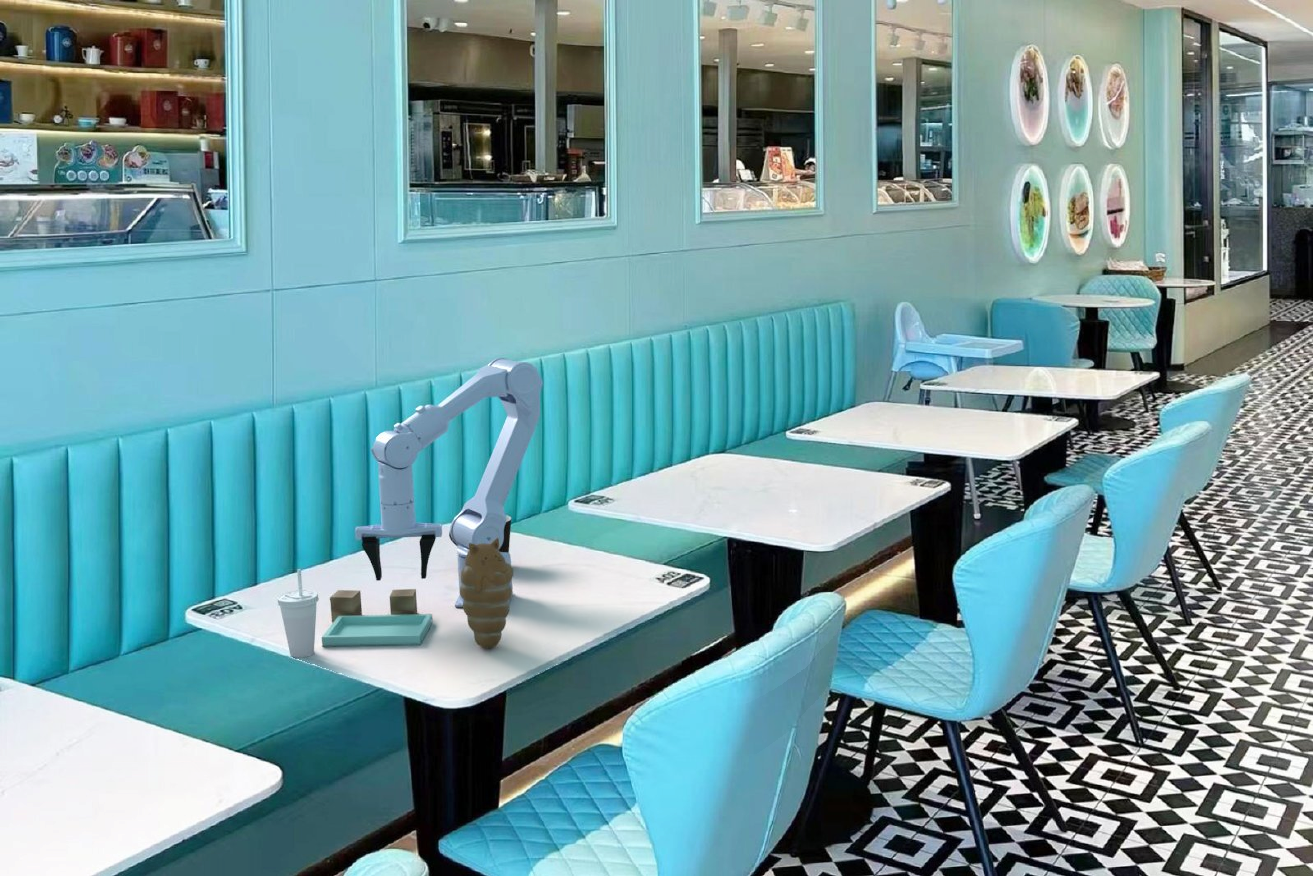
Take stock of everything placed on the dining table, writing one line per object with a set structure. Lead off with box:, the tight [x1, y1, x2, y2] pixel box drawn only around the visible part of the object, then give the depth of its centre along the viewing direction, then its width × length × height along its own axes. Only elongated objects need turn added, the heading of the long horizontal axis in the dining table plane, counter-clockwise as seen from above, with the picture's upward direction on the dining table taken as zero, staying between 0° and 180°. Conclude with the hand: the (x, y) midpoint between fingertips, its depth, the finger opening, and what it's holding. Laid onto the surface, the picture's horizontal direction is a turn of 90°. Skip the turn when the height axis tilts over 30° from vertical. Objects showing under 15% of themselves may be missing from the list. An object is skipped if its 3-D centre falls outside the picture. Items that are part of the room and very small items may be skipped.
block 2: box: [389, 588, 418, 615], centre depth 228 cm, size 4×4×4 cm
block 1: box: [329, 589, 363, 623], centre depth 228 cm, size 4×4×4 cm
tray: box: [321, 613, 433, 648], centre depth 220 cm, size 16×11×2 cm
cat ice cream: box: [459, 538, 514, 649], centre depth 211 cm, size 9×8×18 cm
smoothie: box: [276, 568, 320, 658], centre depth 210 cm, size 6×6×14 cm
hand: (401, 578), depth 227 cm, fingers open, 7 cm apart
